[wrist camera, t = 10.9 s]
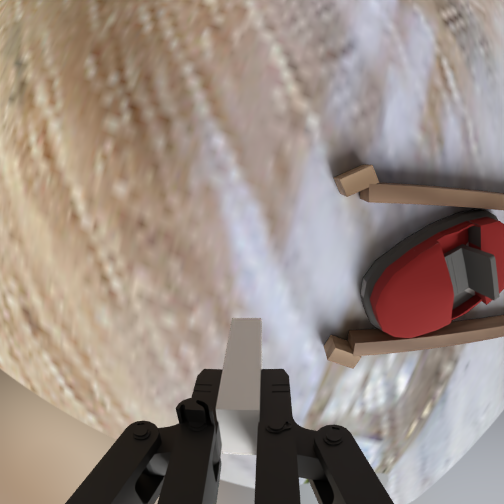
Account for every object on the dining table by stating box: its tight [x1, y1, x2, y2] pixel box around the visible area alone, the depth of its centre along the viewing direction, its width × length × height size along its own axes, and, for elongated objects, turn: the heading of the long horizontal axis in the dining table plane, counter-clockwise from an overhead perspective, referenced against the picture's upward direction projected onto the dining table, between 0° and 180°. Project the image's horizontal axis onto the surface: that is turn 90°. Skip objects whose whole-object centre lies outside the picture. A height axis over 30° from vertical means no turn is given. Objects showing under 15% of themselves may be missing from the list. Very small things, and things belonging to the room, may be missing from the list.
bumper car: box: [360, 209, 504, 338], centre depth 24 cm, size 10×20×10 cm, turn 115°
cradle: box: [324, 165, 504, 368], centre depth 28 cm, size 19×27×2 cm
